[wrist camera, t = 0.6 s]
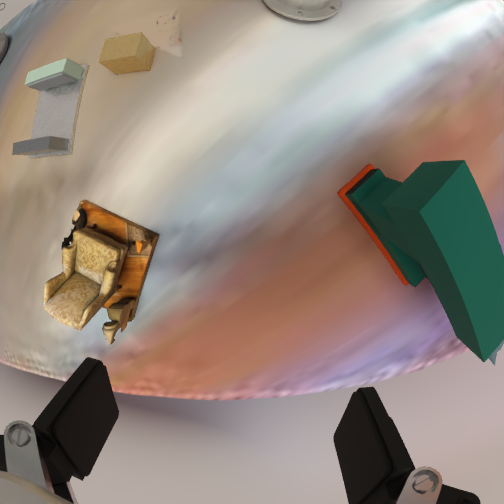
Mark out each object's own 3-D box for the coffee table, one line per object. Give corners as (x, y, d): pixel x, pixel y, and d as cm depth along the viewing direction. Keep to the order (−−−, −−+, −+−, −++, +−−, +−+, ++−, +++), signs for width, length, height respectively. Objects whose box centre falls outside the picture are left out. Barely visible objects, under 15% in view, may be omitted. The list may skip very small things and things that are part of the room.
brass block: (122, 53, 30) (105, 39, 24) (155, 49, 30) (141, 32, 24) (116, 74, 31) (98, 62, 25) (150, 70, 31) (135, 55, 25)
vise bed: (46, 77, 30) (28, 70, 25) (89, 65, 30) (71, 54, 25) (31, 158, 34) (10, 158, 28) (72, 154, 34) (49, 152, 29)
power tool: (455, 305, 40) (521, 357, 20) (430, 330, 41) (490, 393, 21) (370, 162, 34) (464, 150, 15) (336, 193, 35) (415, 205, 16)
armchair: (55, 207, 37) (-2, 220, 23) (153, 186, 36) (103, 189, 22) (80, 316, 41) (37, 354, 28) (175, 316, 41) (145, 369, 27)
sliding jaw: (44, 78, 29) (28, 72, 24) (83, 66, 29) (67, 57, 25) (41, 91, 30) (24, 86, 25) (79, 81, 30) (62, 73, 25)
